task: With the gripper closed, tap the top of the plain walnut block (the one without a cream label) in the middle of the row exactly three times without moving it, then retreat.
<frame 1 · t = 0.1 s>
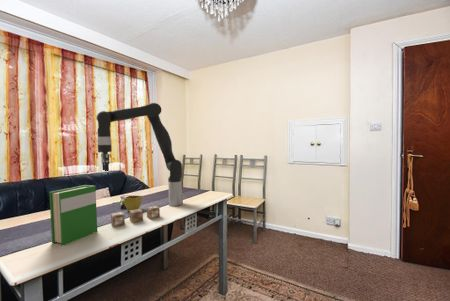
hand: (105, 170, 140), 29 cm above the table, fingers open, 8 cm apart
labelled block 1: (117, 224, 128), on the table
hardback book: (76, 237, 112), on the table
labelled block 2: (153, 217, 140), on the table
plain block: (136, 220, 134), on the table
flower pot: (133, 210, 156), on the table
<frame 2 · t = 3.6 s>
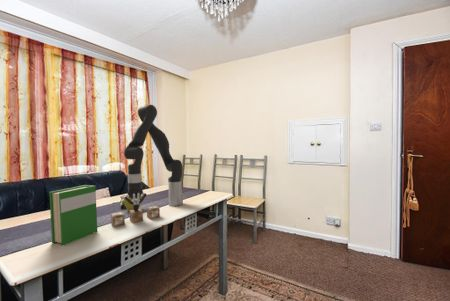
hand: (135, 210, 134), 6 cm above the table, fingers closed
plain block: (136, 220, 134), on the table, touching gripper
everything else where it was.
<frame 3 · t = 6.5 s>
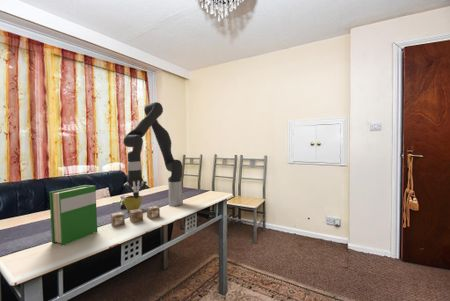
hand: (136, 198, 133), 13 cm above the table, fingers closed
plain block: (136, 220, 134), on the table
everything else where it was.
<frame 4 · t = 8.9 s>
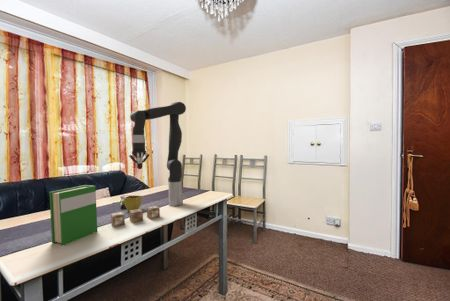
hand: (139, 169, 146), 29 cm above the table, fingers closed
nothing on the table moved.
at the end: plain block moved 0.1 cm from its start; plain block tilted 0°; plain block touching table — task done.
